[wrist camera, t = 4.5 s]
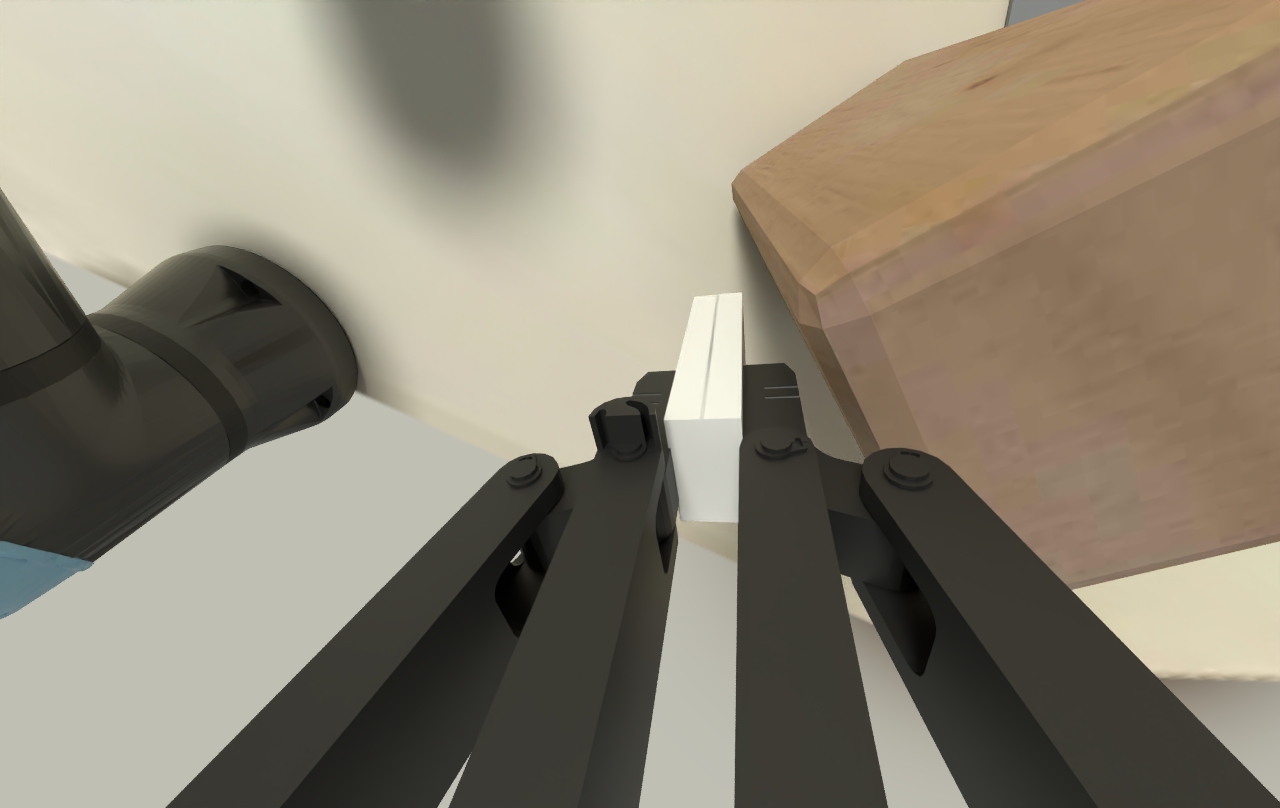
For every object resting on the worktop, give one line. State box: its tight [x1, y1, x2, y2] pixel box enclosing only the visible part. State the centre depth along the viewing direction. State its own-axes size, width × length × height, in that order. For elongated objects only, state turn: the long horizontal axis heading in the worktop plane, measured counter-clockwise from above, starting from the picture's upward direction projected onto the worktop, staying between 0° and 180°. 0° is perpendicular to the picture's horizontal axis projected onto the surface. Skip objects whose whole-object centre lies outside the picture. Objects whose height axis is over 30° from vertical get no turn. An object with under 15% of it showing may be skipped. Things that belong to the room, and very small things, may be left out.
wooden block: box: [732, 0, 1280, 590], centre depth 16 cm, size 10×10×20 cm
